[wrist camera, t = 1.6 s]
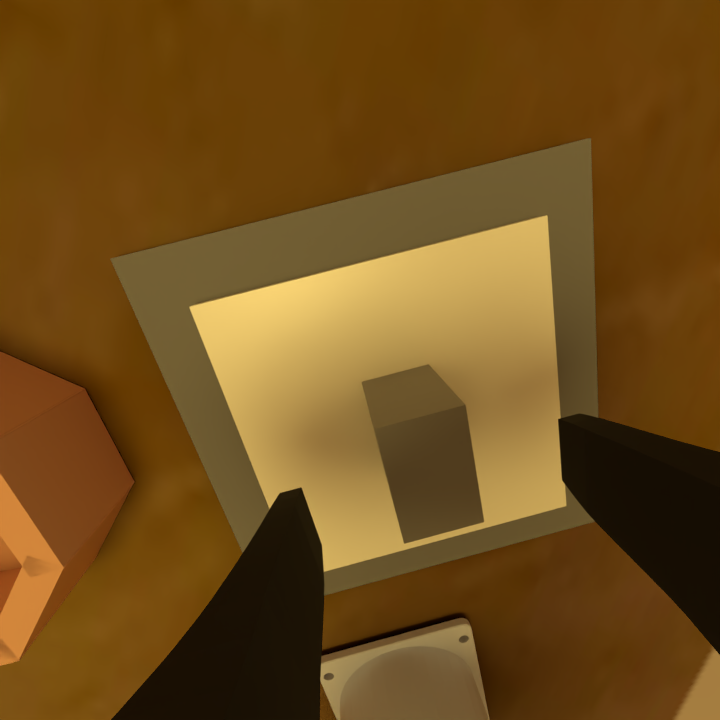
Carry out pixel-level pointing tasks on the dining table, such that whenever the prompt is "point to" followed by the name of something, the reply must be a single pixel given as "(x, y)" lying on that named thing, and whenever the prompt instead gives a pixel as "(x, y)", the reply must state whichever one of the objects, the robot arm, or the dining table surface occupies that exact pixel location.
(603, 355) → the dining table surface
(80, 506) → the bowl
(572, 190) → the mat
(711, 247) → the dining table surface
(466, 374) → the lid
